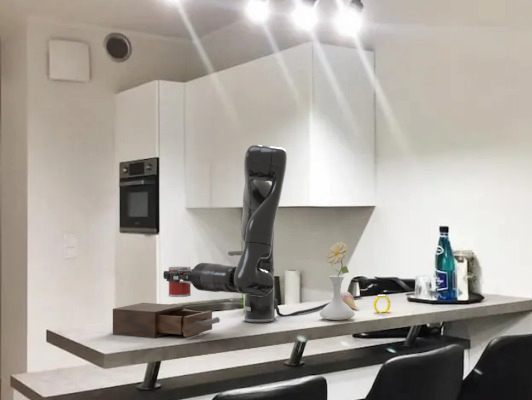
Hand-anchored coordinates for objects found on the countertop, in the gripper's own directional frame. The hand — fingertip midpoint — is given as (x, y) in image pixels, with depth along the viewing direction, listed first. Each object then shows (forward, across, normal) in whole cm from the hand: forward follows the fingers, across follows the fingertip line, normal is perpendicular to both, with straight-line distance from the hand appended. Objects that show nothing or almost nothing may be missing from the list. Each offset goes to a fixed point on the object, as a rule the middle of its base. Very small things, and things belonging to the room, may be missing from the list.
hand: (174, 274), depth 201 cm
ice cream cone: (-4, -74, +17) cm, 76 cm away
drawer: (-4, -1, +16) cm, 17 cm away
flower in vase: (-18, -50, +17) cm, 56 cm away
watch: (-20, -72, +17) cm, 76 cm away
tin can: (-2, 0, +6) cm, 6 cm away
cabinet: (+8, +3, +17) cm, 19 cm away
